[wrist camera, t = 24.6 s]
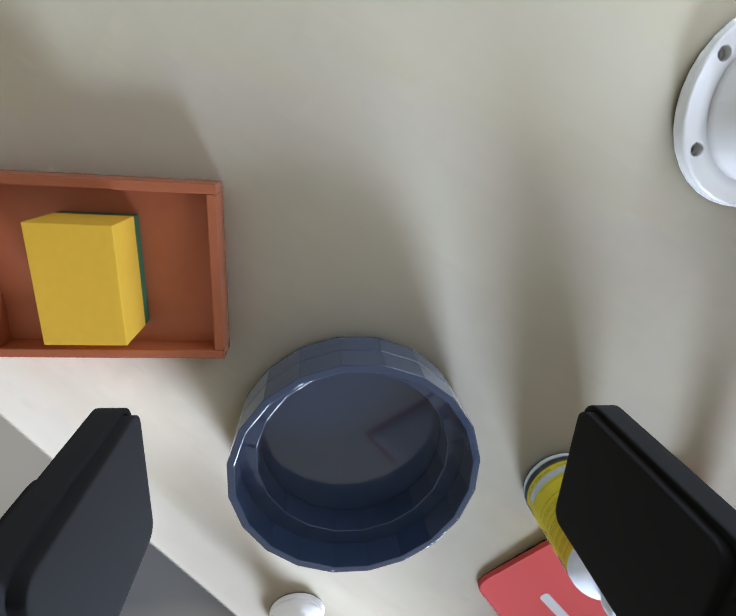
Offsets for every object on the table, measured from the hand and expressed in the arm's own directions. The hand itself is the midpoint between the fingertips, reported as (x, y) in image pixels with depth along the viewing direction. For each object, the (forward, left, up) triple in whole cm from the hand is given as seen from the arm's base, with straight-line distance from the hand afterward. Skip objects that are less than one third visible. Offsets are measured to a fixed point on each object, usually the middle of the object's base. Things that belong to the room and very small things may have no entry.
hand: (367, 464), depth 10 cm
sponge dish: (+2, -14, -22) cm, 26 cm away
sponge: (+2, -14, -22) cm, 26 cm away
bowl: (+15, +2, -22) cm, 27 cm away
